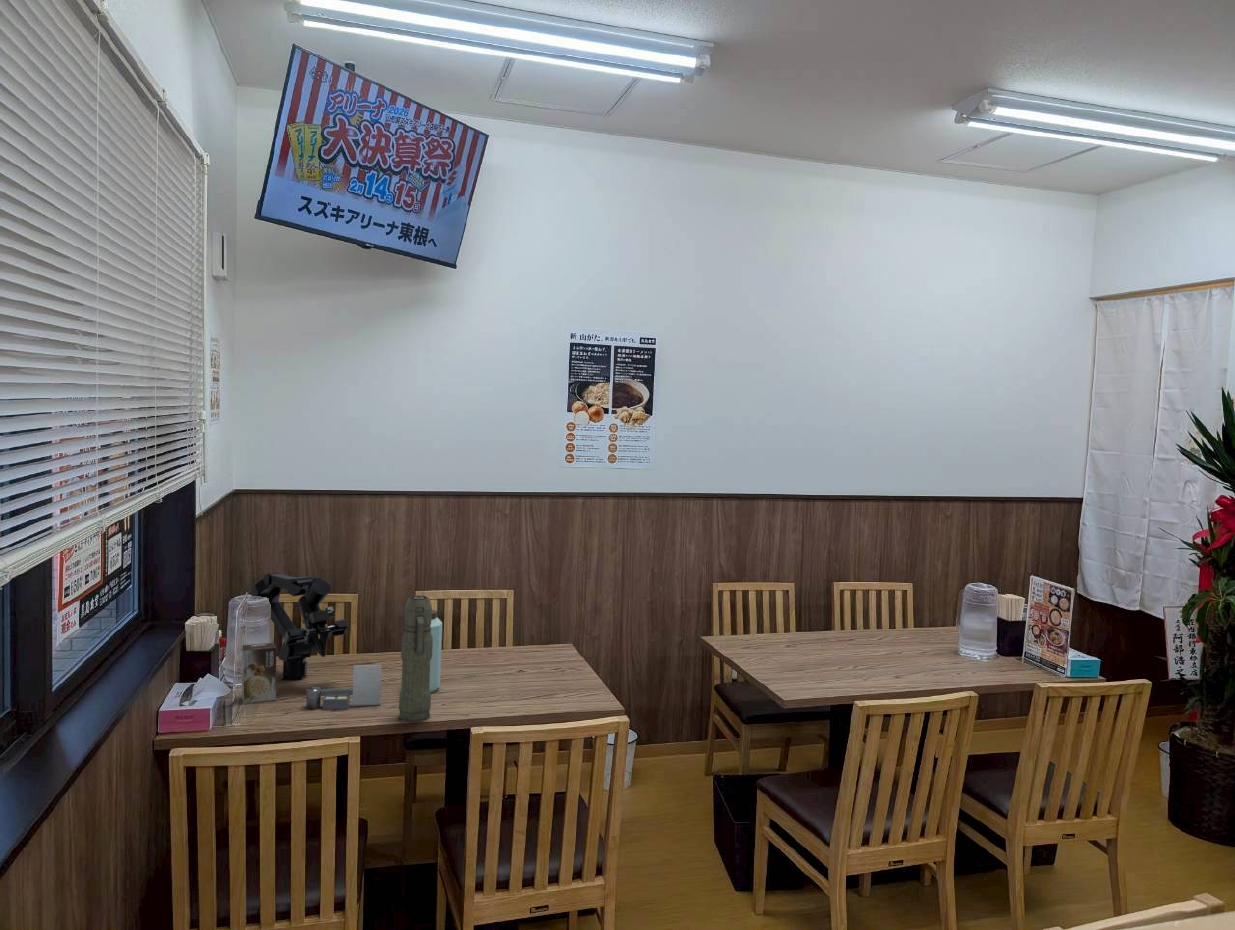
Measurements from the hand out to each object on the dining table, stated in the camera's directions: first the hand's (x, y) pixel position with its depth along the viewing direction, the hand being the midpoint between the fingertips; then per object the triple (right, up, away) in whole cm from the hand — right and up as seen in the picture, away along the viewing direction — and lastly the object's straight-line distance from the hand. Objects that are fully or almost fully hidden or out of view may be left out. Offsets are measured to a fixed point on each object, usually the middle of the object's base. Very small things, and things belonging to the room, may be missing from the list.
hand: (324, 656), depth 256 cm
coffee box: (-17, -12, -6) cm, 22 cm away
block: (+7, -13, -10) cm, 18 cm away
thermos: (+31, -14, -14) cm, 37 cm away
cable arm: (+9, -13, -9) cm, 18 cm away
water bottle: (+29, -13, +9) cm, 33 cm away
